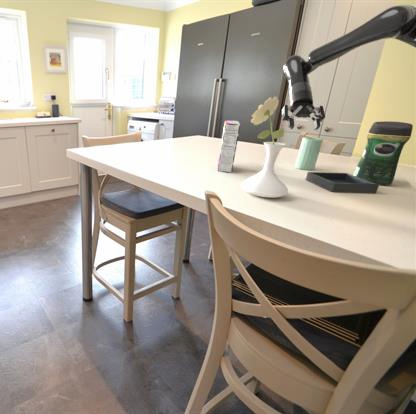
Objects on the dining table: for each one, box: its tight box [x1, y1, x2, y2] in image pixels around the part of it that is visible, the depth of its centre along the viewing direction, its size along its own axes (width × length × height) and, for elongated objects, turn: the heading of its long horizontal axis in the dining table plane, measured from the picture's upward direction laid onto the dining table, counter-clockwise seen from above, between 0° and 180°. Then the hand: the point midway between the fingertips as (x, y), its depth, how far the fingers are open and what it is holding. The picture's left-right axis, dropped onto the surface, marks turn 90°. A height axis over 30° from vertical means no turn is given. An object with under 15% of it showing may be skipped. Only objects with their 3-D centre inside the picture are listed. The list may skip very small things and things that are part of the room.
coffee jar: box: [352, 120, 414, 186], centre depth 87 cm, size 10×8×19 cm
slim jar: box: [294, 136, 324, 171], centre depth 104 cm, size 6×6×11 cm
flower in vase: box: [240, 95, 289, 199], centre depth 73 cm, size 13×11×25 cm
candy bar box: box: [217, 120, 241, 173], centre depth 100 cm, size 11×5×16 cm, turn 159°
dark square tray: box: [305, 171, 380, 194], centre depth 85 cm, size 12×12×3 cm
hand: (304, 128), depth 109 cm, fingers open, 8 cm apart
